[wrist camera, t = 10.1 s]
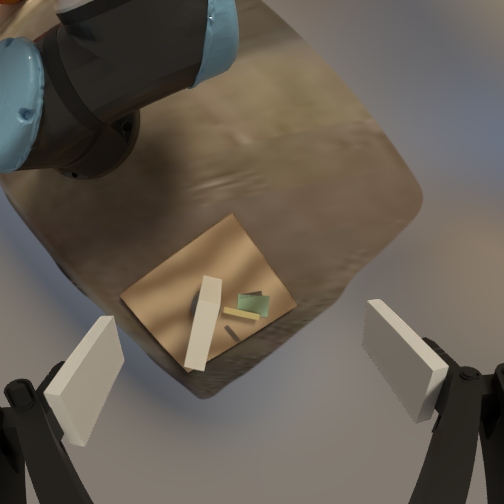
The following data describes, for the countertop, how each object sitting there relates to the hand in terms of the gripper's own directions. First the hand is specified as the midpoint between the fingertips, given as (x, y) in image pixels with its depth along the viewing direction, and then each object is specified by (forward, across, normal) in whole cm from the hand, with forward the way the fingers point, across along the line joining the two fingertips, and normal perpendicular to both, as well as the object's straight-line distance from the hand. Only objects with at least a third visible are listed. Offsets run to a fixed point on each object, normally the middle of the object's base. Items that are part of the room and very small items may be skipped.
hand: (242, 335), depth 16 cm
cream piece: (+27, -2, -11) cm, 29 cm away
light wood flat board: (+29, -4, -10) cm, 31 cm away
